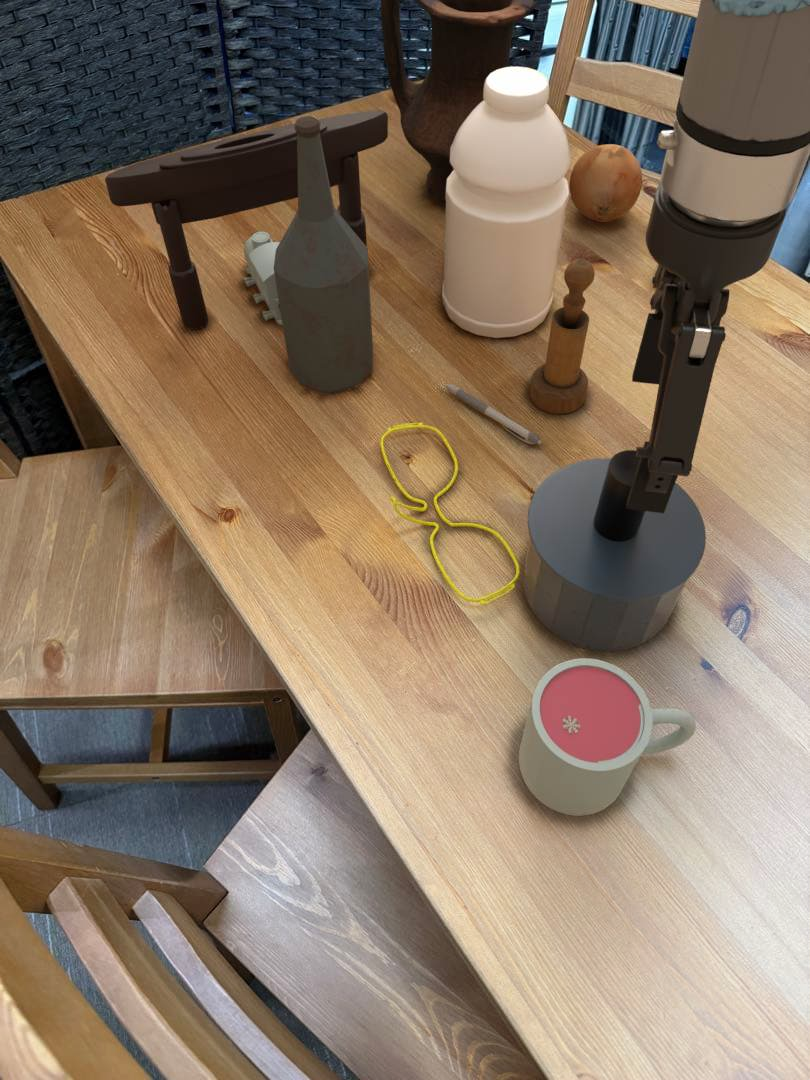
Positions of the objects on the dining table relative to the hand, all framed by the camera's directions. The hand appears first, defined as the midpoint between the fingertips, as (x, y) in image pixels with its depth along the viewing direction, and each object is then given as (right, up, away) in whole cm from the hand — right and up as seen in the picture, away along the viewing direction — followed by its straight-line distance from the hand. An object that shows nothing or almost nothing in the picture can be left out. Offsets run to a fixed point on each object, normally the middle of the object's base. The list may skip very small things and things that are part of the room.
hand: (647, 440), depth 67 cm
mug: (-2, -27, +6) cm, 28 cm away
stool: (-36, +24, +44) cm, 62 cm away
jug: (-11, +44, +59) cm, 74 cm away
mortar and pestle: (-1, +9, +33) cm, 34 cm away
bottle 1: (-28, +13, +36) cm, 47 cm away
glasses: (-16, -5, +22) cm, 28 cm away
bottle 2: (-7, +22, +42) cm, 48 cm away
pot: (0, -12, +17) cm, 21 cm away
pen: (-9, +6, +31) cm, 32 cm away
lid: (0, -7, +9) cm, 11 cm away
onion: (+8, +38, +54) cm, 66 cm away
